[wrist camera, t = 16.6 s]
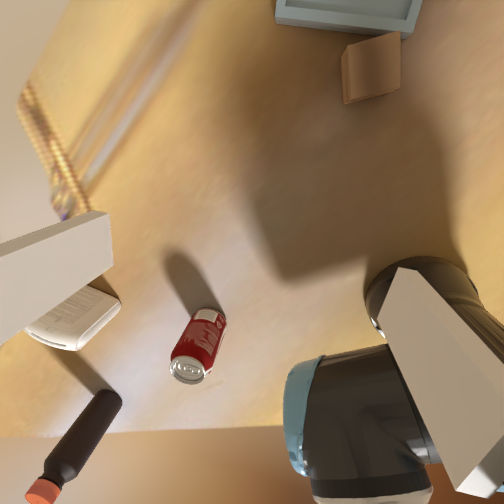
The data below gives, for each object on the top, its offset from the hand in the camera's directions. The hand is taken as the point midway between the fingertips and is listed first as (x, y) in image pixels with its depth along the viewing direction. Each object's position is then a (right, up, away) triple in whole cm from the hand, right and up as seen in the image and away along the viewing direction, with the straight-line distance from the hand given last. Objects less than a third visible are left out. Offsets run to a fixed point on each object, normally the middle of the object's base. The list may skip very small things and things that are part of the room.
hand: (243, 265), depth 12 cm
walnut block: (+14, +22, +20) cm, 33 cm away
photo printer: (-30, -8, +40) cm, 51 cm away
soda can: (-7, -12, +38) cm, 41 cm away
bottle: (-34, -35, +53) cm, 72 cm away
